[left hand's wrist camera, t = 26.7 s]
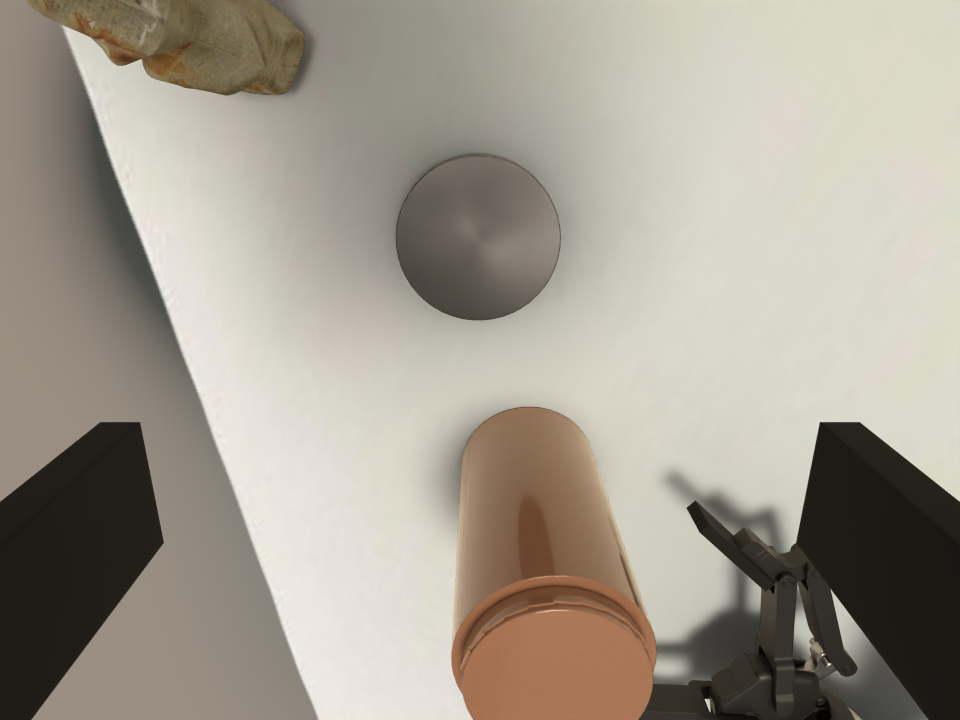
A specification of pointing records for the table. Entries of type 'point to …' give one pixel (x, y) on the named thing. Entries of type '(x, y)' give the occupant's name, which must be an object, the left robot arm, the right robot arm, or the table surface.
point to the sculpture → (191, 40)
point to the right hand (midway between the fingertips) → (617, 579)
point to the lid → (478, 237)
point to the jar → (544, 580)
